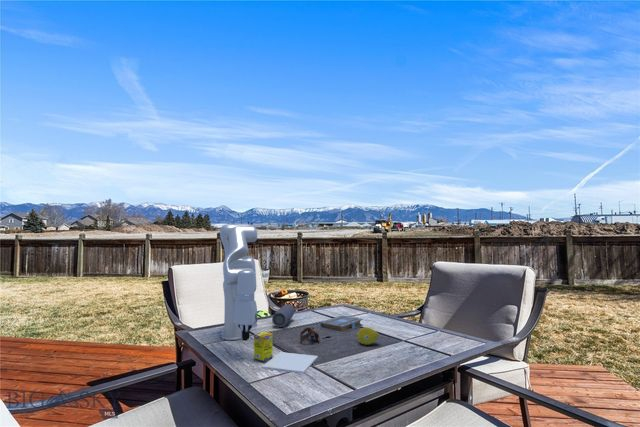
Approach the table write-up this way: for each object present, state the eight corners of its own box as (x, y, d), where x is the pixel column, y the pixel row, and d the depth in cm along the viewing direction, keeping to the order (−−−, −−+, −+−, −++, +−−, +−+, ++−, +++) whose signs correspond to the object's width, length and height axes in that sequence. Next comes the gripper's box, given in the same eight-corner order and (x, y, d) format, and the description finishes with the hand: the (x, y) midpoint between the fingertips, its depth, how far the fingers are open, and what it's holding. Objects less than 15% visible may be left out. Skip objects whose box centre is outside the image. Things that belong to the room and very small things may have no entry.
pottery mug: (321, 345, 170) (313, 332, 169) (304, 353, 171) (296, 339, 170) (322, 332, 182) (314, 319, 180) (306, 340, 183) (299, 327, 182)
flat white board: (262, 368, 141) (262, 366, 141) (280, 353, 158) (280, 352, 158) (303, 373, 135) (303, 371, 135) (317, 357, 152) (317, 355, 152)
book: (340, 322, 215) (340, 313, 216) (363, 326, 205) (363, 317, 205) (319, 329, 199) (319, 320, 199) (343, 334, 189) (343, 325, 189)
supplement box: (263, 362, 146) (264, 336, 147) (253, 360, 150) (253, 334, 150) (273, 358, 151) (273, 333, 152) (262, 356, 155) (262, 331, 155)
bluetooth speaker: (280, 319, 221) (280, 303, 222) (295, 319, 220) (295, 303, 220) (270, 329, 199) (271, 311, 199) (286, 329, 197) (286, 311, 198)
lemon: (354, 345, 169) (353, 328, 170) (360, 340, 176) (359, 324, 176) (375, 348, 164) (375, 331, 164) (380, 343, 171) (380, 327, 171)
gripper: (226, 298, 153) (226, 340, 152) (256, 300, 149) (256, 343, 148) (235, 295, 160) (235, 336, 159) (264, 297, 156) (264, 338, 155)
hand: (245, 339), depth 153 cm, fingers closed
